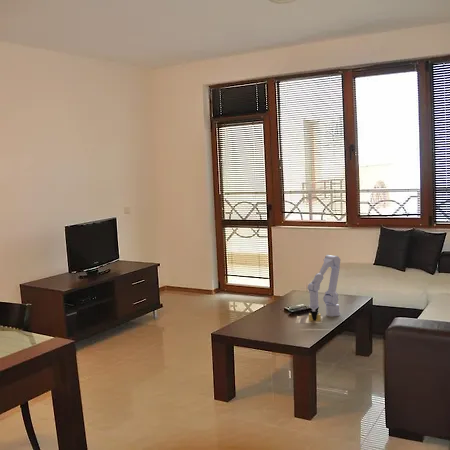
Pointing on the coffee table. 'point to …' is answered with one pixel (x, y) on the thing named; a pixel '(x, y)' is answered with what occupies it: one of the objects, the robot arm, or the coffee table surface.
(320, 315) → the stud finder
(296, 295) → the coffee table surface
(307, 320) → the subfloor
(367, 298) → the coffee table surface
